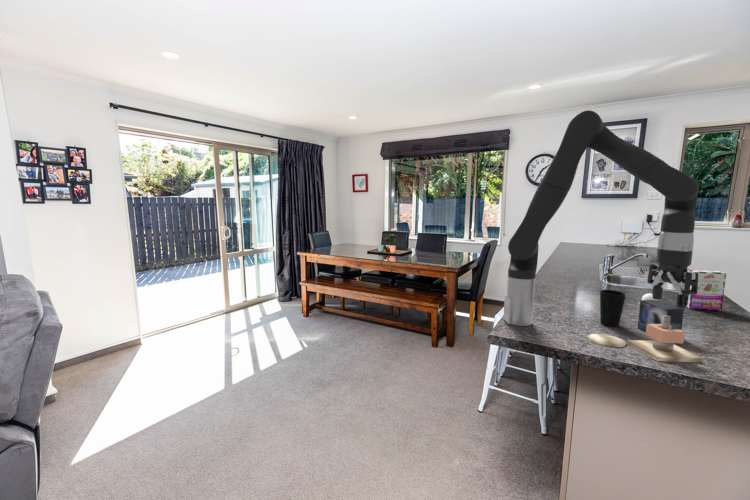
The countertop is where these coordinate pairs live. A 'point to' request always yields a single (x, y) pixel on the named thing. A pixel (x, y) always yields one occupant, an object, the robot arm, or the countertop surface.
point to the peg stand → (664, 348)
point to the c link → (664, 334)
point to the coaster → (607, 340)
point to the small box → (659, 314)
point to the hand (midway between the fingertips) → (668, 303)
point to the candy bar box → (708, 290)
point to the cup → (611, 307)
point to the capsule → (648, 297)
